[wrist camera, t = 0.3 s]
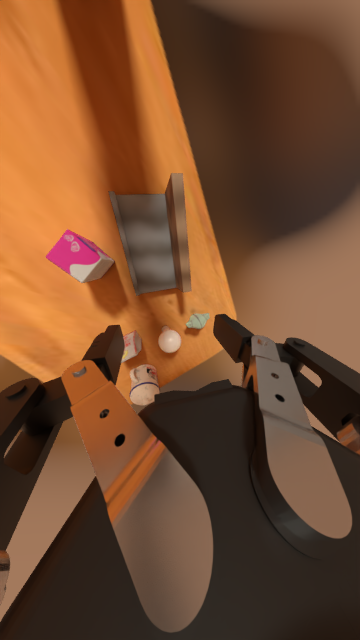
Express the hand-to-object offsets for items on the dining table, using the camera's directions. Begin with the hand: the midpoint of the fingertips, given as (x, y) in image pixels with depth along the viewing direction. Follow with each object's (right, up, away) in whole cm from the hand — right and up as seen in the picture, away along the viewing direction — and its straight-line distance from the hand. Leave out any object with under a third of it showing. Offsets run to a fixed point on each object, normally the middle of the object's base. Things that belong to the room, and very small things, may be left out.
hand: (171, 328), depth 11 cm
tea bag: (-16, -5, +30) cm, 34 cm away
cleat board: (-7, +19, +22) cm, 29 cm away
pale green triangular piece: (+5, +2, +33) cm, 33 cm away
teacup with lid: (-13, -18, +36) cm, 42 cm away
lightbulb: (-4, -2, +32) cm, 32 cm away
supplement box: (-19, +15, +20) cm, 31 cm away
